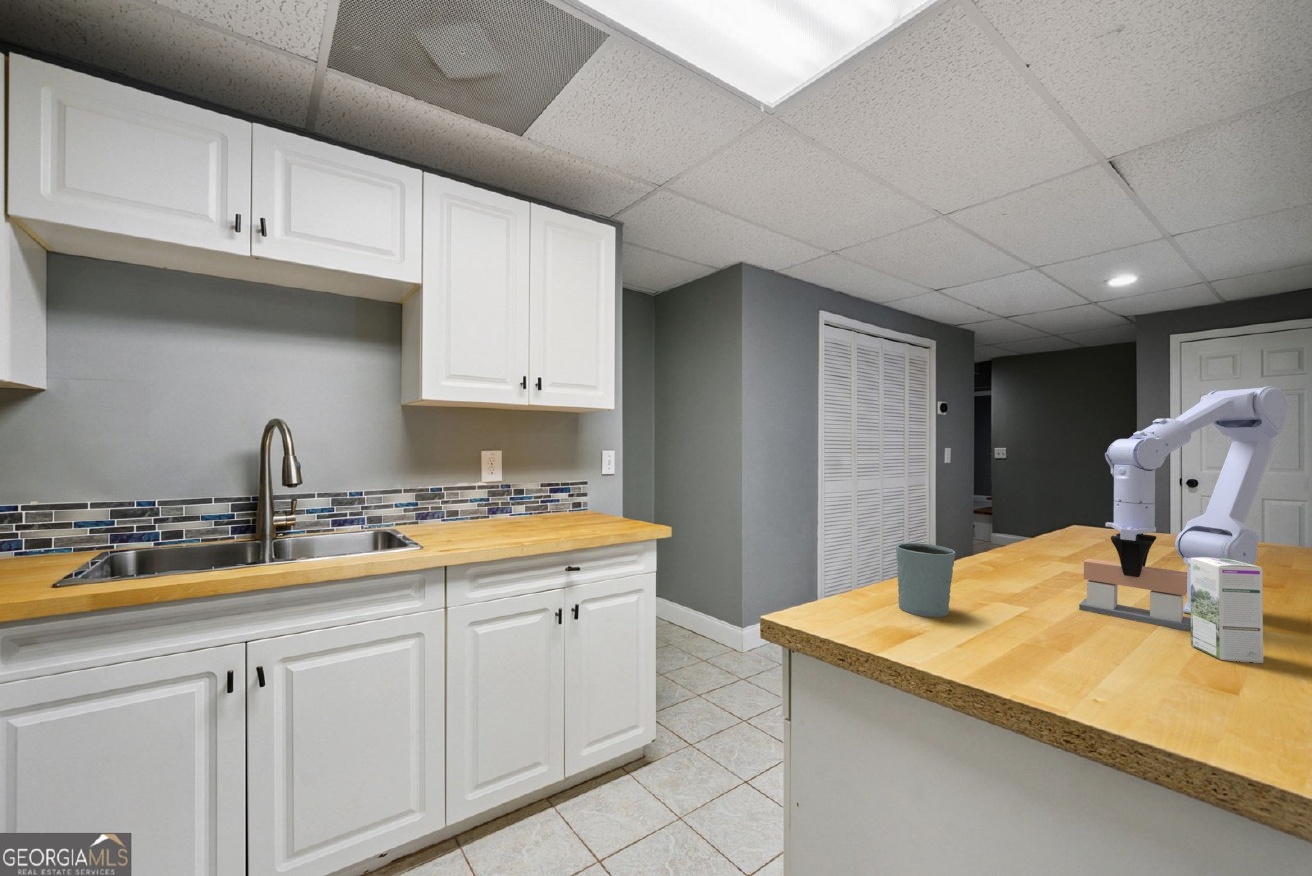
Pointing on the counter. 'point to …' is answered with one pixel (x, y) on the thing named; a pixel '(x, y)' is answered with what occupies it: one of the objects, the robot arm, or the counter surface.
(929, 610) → the grey green cup
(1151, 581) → the beam
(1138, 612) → the arch base
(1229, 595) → the syrup box
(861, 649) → the counter surface
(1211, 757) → the counter surface
